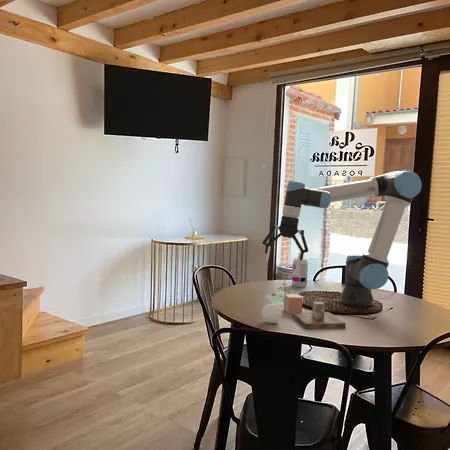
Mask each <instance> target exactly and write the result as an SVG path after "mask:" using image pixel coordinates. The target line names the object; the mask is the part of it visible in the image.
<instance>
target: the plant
mask: <svg viewBox="0 0 450 450" xmlns="http://www.w3.org/2000/svg"><path fill="white" fill-rule="evenodd" d="M285 282H286V280H284V282H283V283H282V287H281V286H279V287H278V288H277V289H278V290H280V291H276V292H272V293H268V294H266V295H265V298H267V300H268V301H269V302H271V304H274V303H275V304H276V305H278V306H283V307H284V294H294V293H293V292H291V291H290V288H288V287H287V286H286V285H288V283H285ZM281 289H282V291H281ZM300 296H301V297H304V296H303V295H300Z"/></svg>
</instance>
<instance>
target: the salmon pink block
mask: <svg viewBox="0 0 450 450" xmlns="http://www.w3.org/2000/svg"><path fill="white" fill-rule="evenodd" d="M301 296H302V295H300V294H299V293H293V294H284V306H283V311H284V312H285V313H286V314H287V315H292V312H303V303H304V302H303V297H304V296H303V297H301Z"/></svg>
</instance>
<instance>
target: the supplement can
mask: <svg viewBox="0 0 450 450" xmlns="http://www.w3.org/2000/svg"><path fill="white" fill-rule="evenodd" d="M297 262H298V258H297V257H296V258H294V259H293V261H292V278H291V286H293V287H295V288H296V287H297V288H306V287H307V286H308V268H309V261H308V260H307V258H303V259H302V260H300V262H299V267H298V268H297Z"/></svg>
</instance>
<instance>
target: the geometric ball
mask: <svg viewBox="0 0 450 450" xmlns="http://www.w3.org/2000/svg"><path fill="white" fill-rule="evenodd" d="M282 313H283V311H282V309H281V308H280V305H276V304H275V303H274V304H273V303H268V304H266V305H264V307H263V308H262V310H261V317H262V318H263V320H264V321H265V322H267V323H268V324H276V323H278V322H279V321H280V320H281V319H282V316H283V315H282Z"/></svg>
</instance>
